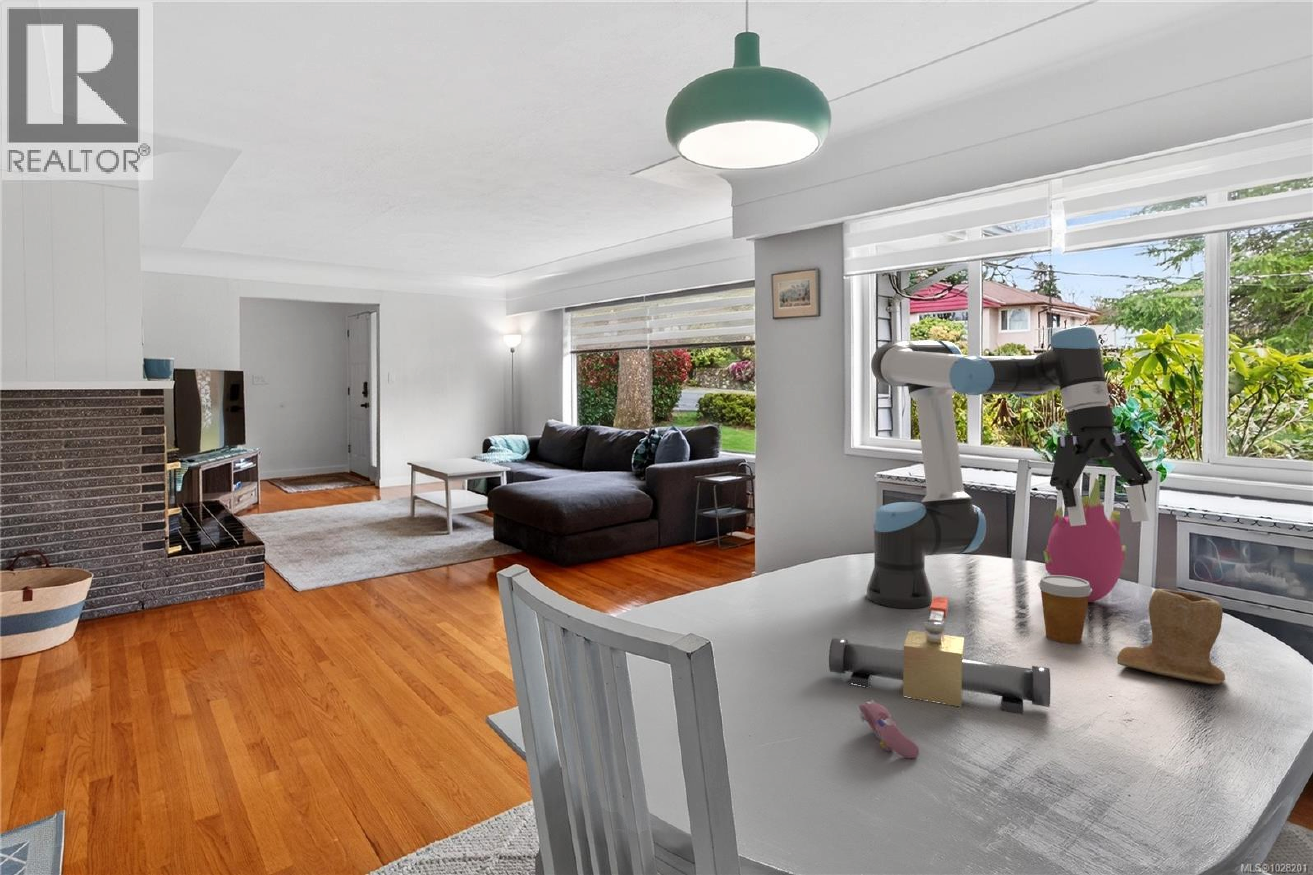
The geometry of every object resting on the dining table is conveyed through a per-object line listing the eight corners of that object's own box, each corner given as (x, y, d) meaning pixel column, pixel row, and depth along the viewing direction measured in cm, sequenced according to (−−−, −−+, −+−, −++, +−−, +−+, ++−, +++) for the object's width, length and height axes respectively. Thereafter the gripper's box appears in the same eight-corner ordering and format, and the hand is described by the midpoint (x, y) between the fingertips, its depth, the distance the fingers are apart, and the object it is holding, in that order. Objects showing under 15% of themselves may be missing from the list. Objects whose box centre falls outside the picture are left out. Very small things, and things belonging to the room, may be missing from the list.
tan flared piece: (1226, 672, 126) (1230, 591, 125) (1223, 695, 117) (1227, 607, 116) (1126, 652, 136) (1128, 577, 135) (1115, 672, 127) (1118, 591, 126)
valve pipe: (836, 668, 131) (837, 611, 130) (1046, 701, 116) (1048, 637, 115) (827, 684, 124) (827, 625, 123) (1050, 722, 109) (1051, 654, 108)
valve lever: (943, 635, 117) (944, 625, 117) (923, 632, 118) (923, 622, 118) (949, 607, 131) (950, 598, 131) (931, 605, 133) (931, 596, 133)
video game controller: (868, 737, 108) (848, 699, 107) (894, 723, 108) (874, 685, 108) (895, 772, 98) (874, 731, 98) (924, 757, 99) (902, 715, 98)
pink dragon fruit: (1109, 594, 173) (1113, 473, 170) (1137, 611, 159) (1141, 481, 157) (1032, 591, 176) (1034, 473, 174) (1052, 608, 162) (1056, 480, 160)
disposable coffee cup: (1098, 647, 139) (1100, 588, 138) (1046, 645, 140) (1047, 586, 140) (1079, 631, 148) (1081, 575, 147) (1030, 628, 150) (1032, 573, 149)
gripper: (1046, 405, 124) (1068, 525, 120) (1159, 403, 129) (1184, 517, 125) (1015, 415, 131) (1035, 528, 127) (1124, 412, 137) (1147, 521, 133)
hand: (1109, 523), depth 126 cm, fingers open, 13 cm apart
